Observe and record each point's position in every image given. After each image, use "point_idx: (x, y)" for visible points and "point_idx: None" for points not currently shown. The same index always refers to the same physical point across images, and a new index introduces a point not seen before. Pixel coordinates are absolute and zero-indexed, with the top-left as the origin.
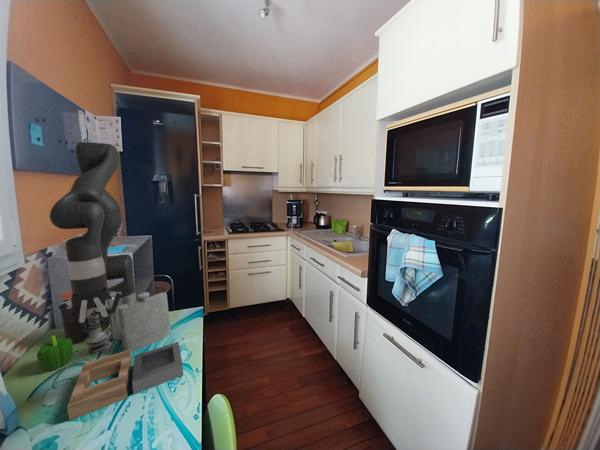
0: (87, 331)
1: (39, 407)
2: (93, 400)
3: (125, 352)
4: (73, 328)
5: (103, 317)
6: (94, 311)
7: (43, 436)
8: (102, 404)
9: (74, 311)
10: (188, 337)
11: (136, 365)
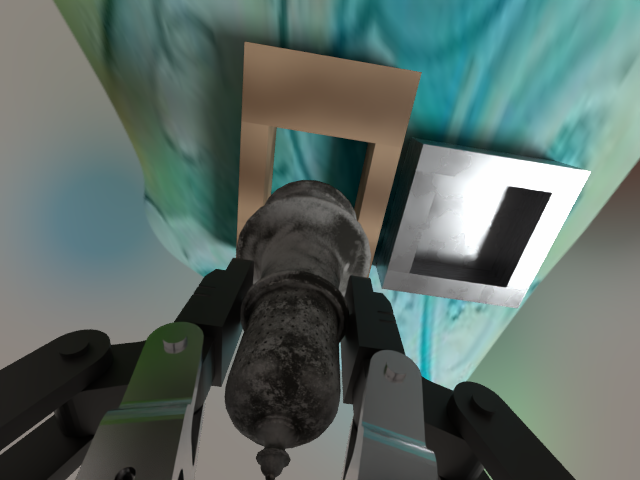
0: None
1: (160, 143)
2: None
3: (398, 84)
4: None
5: (353, 399)
6: (277, 463)
7: (206, 262)
8: None
9: (5, 429)
10: None
11: (411, 217)
